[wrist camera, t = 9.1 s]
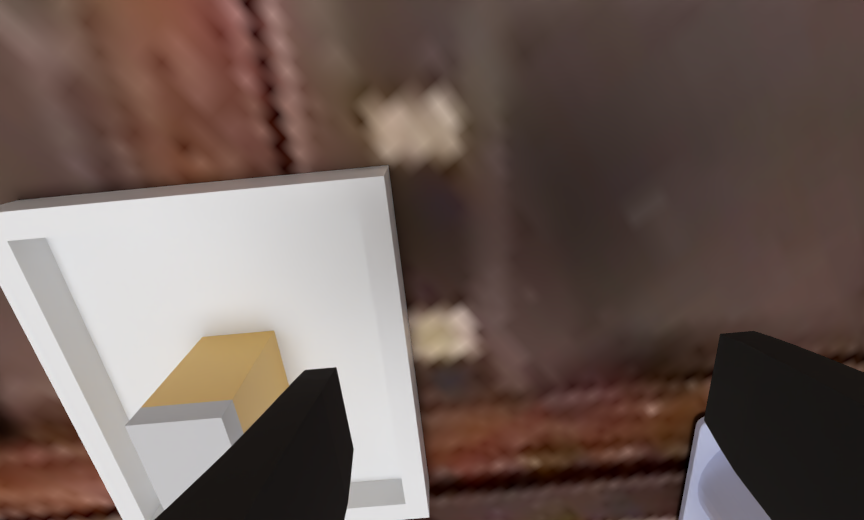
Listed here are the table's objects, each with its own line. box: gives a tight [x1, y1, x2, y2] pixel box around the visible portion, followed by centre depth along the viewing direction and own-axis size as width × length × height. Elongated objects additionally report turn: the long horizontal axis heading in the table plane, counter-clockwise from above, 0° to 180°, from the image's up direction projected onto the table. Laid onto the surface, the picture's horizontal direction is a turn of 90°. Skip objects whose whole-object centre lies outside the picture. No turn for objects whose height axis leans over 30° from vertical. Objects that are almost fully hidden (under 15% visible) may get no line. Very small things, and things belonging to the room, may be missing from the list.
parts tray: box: [0, 165, 429, 520], centre depth 18 cm, size 14×16×2 cm
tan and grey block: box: [125, 331, 289, 510], centre depth 16 cm, size 3×4×5 cm, turn 5°
